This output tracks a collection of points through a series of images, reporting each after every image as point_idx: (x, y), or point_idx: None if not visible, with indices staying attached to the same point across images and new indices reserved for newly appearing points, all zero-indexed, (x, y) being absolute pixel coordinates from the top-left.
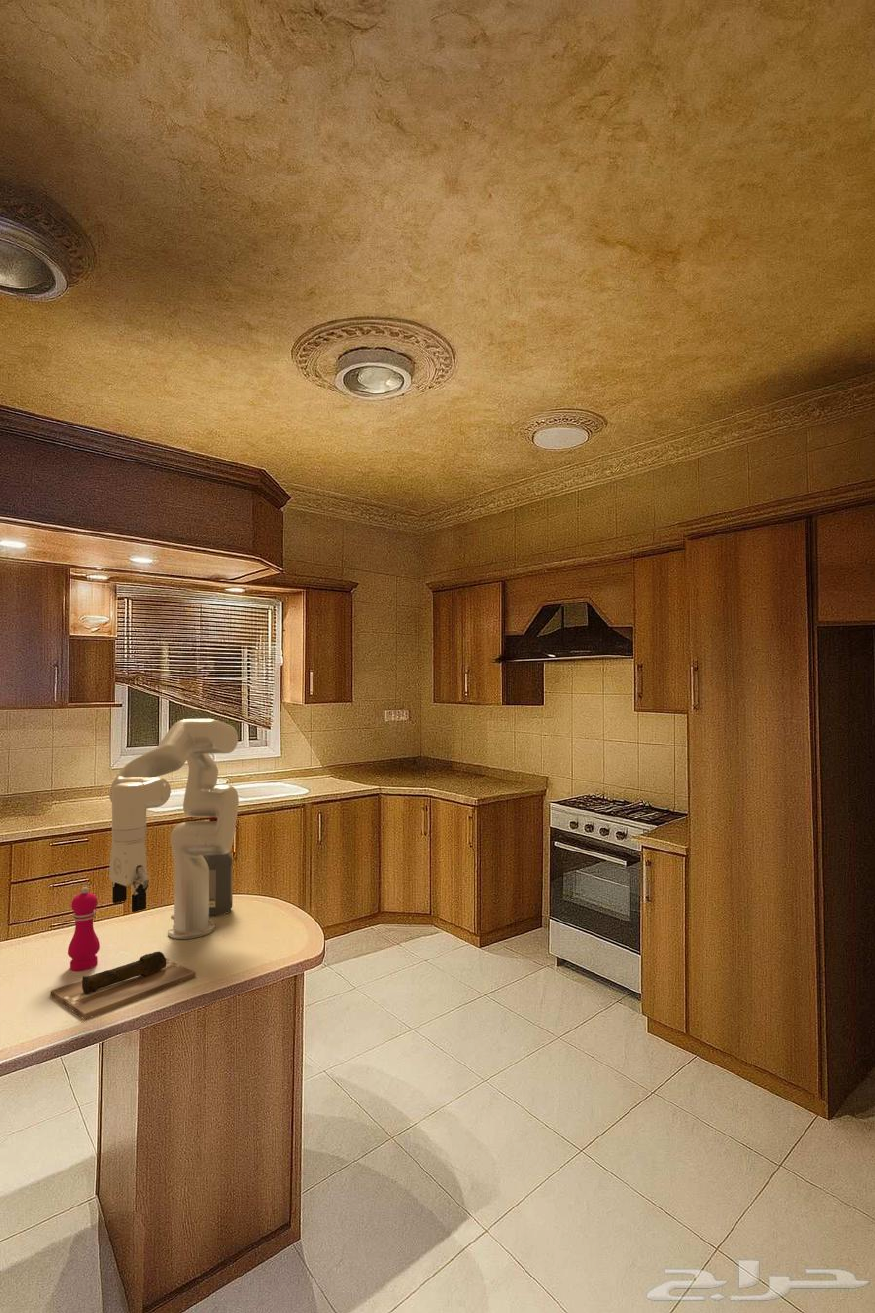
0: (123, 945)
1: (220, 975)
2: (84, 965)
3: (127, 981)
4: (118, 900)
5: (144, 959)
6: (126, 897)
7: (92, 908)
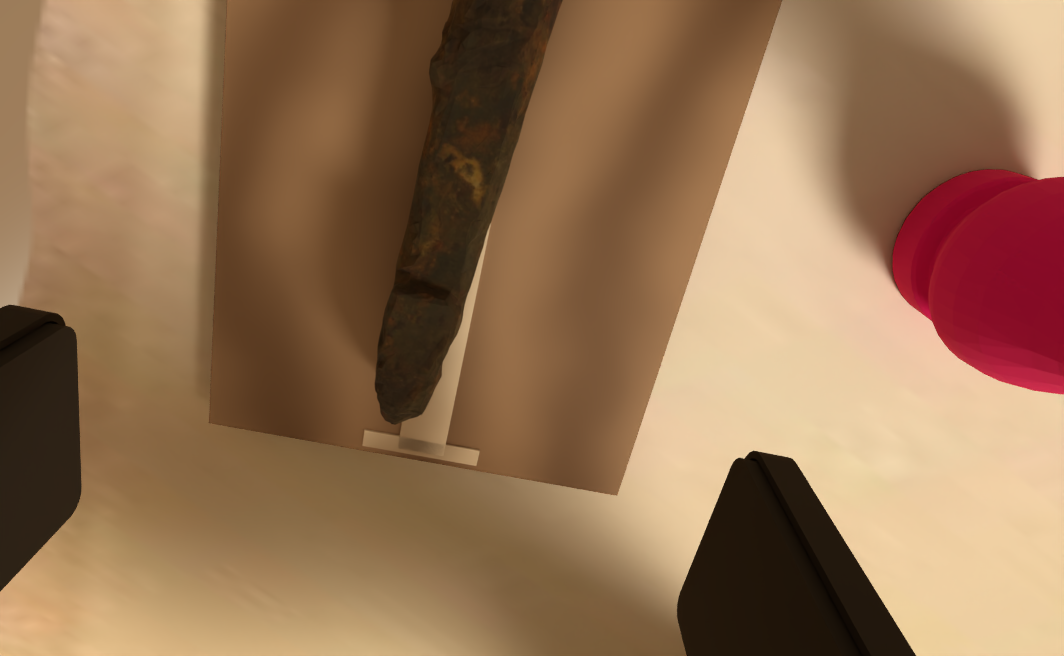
0: (953, 520)
1: (133, 474)
2: (931, 213)
3: None
4: (724, 530)
5: (391, 296)
6: (693, 648)
7: None
